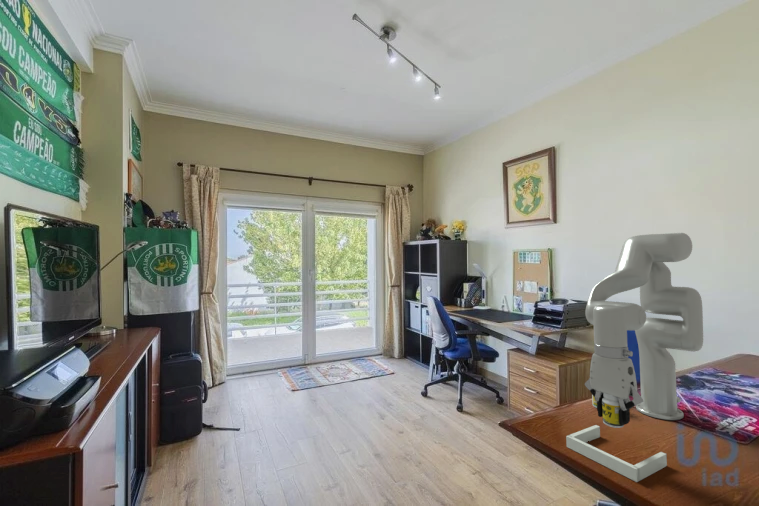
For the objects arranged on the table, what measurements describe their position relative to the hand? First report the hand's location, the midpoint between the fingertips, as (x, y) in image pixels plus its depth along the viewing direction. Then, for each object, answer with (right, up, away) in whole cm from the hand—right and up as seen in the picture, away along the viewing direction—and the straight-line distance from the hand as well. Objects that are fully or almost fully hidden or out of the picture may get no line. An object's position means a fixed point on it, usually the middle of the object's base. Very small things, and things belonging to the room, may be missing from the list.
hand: (613, 419), depth 95 cm
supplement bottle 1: (+16, -10, +30) cm, 35 cm away
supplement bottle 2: (0, -2, 0) cm, 2 cm away
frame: (0, -10, 0) cm, 10 cm away
